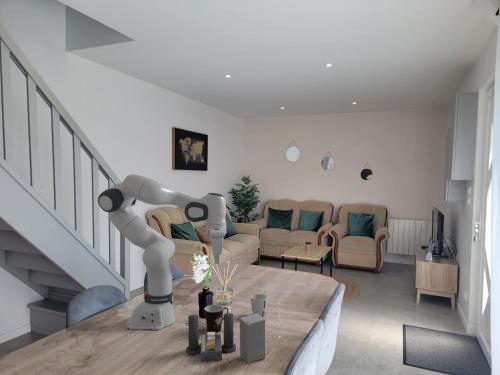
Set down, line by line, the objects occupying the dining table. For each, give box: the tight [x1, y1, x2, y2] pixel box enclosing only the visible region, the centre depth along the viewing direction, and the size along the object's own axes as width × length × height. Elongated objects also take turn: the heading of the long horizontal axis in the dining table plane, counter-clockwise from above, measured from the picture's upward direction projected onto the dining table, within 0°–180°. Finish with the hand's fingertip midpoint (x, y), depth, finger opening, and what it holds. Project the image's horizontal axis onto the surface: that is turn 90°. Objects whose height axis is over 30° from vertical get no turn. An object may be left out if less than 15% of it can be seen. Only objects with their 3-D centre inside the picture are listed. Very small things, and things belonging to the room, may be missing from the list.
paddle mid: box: [207, 336, 215, 343], centre depth 135 cm, size 3×2×2 cm
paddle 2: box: [206, 341, 215, 350], centre depth 131 cm, size 3×2×2 cm
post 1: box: [185, 314, 201, 356], centre depth 135 cm, size 6×6×14 cm
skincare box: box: [239, 313, 266, 364], centre depth 130 cm, size 8×7×16 cm
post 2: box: [221, 312, 237, 354], centre depth 136 cm, size 6×6×14 cm
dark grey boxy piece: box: [200, 333, 223, 363], centre depth 135 cm, size 8×14×4 cm, turn 7°
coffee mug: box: [204, 304, 229, 334], centre depth 154 cm, size 12×9×10 cm
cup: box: [250, 293, 268, 318], centre depth 168 cm, size 8×8×10 cm
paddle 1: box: [206, 331, 216, 337], centre depth 139 cm, size 3×2×2 cm
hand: (216, 261), depth 149 cm, fingers open, 8 cm apart
